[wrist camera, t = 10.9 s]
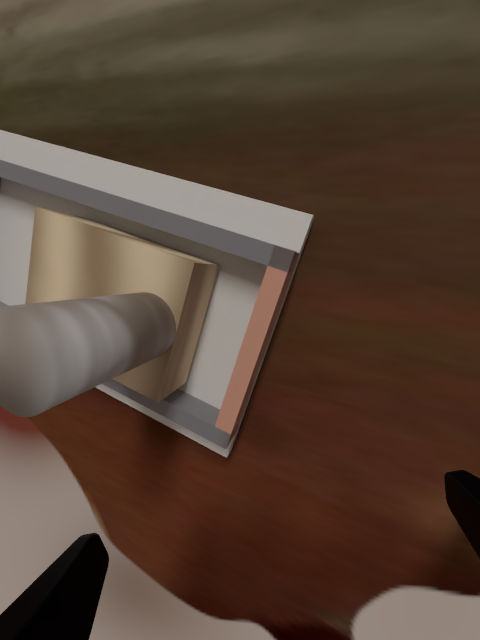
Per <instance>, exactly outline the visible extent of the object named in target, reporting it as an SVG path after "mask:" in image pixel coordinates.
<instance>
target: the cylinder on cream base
mask: <svg viewBox="0 0 480 640" xmlns="http://www.w3.org/2000/svg"><path fill="white" fill-rule="evenodd" d="M218 267H219V264H216V263H213V262H210V261H207V260H204V259H201V258H198V257H196V256H193V255H190V254H187V253H184V252H181V251H178V250H175V249H173V248H170V247H167V246H164V245H161V244H158V243H155V242H152V241H150V240H147V239H144V238H141V237H138V236H135V235H132V234H129V233H127V232H124V231H121V230H118V229H115V228H112V227H109V226H106V225H104V224H101V223H98V222H95V221H92V220H89V219H86V218H83V217H80V216H76V215H71V214H67V213H62V212H58V211H53V210H49V209H44V208H40V207H35V215H34V224H33V234H32V244H31V254H30V263H29V273H28V283H27V293H26V302H25V304H22V305H12V306H2V307H0V406H1V407H2V408H4V409H5V410H7V411H8V412H10V413H12V414H14V415H17V416H21V417H31V416H35V415H37V414H39V413H41V412H44V411H46V410H48V409H50V408H52V407H54V406H56V405H58V404H60V403H62V402H65V401H67V400H69V399H71V398H73V397H75V396H77V395H79V394H81V393H83V392H86V391H88V390H90V389H92V388H94V387H96V386H98V385H100V384H102V383H104V382H107V381H109V380H111V379H113V380H115V381H117V382H119V383H121V384H123V385H125V386H127V387H129V388H131V389H132V390H134V391H136V392H138V393H140V394H142V395H144V396H146V397H148V398H150V399H152V400H154V401H156V402H158V403H159V402H160V401H161V400H163V399H164V398H165V397H167V396H168V395H169V394H171V393H172V392H174V391H175V390H176V389H178V388H179V387H180V386H182V385H183V384H184V383H186V381H187V377H188V374H189V370H190V367H191V363H192V359H193V356H194V352H195V349H196V345H197V342H198V338H199V335H200V331H201V328H202V324H203V321H204V317H205V313H206V310H207V306H208V303H209V299H210V296H211V292H212V289H213V285H214V282H215V278H216V275H217V271H218Z"/></svg>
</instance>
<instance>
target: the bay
mask: <svg viewBox="0 0 480 640" xmlns="http://www.w3.org/2000/svg"><path fill="white" fill-rule="evenodd" d="M35 207H40V208H44V209H49V210H53V211H58V212H62V213H67V214H71V215H76V216H80V217H83V218H86V219H89V220H92V221H95V222H98V223H101V224H104V225H106V226H109V227H112V228H115V229H118V230H121V231H124V232H127V233H129V234H132V235H135V236H138V237H141V238H144V239H147V240H150V241H152V242H155V243H158V244H161V245H164V246H167V247H170V248H173V249H175V250H178V251H181V252H184V253H187V254H190V255H193V256H196V257H198V258H201V259H204V260H207V261H210V262H213V263H216V264H219V267H218V271H217V275H216V278H215V282H214V285H213V289H212V292H211V296H210V299H209V303H208V306H207V310H206V313H205V317H204V321H203V324H202V328H201V331H200V335H199V338H198V342H197V345H196V349H195V352H194V356H193V359H192V363H191V367H190V370H189V374H188V377H187V381H186V383H184V384H183V385H182V386H180V387H179V388H178V389H176V390H175V391H174V392H172V393H171V394H169V395H168V396H167V397H165V398H164V399H163V400H161V401H160V402H159V403H158V402H156V401H154V400H152V399H150V398H148V397H146V396H144V395H142V394H140V393H138V392H136V391H134V390H132V389H131V388H129V387H127V386H125V385H123V384H121V383H119V382H117V381H115V380H113V379H111V380H109V381H107V382H104V383H102V384H100V385H98V386H96V388H97V389H99V390H101V391H103V392H105V393H107V394H109V395H110V396H112V397H114V398H116V399H118V400H120V401H122V402H124V403H125V404H127V405H129V406H131V407H133V408H135V409H137V410H138V411H140V412H142V413H144V414H146V415H148V416H150V417H151V418H153V419H155V420H157V421H159V422H161V423H163V424H164V425H166V426H168V427H170V428H172V429H174V430H176V431H177V432H179V433H181V434H183V435H185V436H187V437H189V438H190V439H192V440H194V441H196V442H198V443H200V444H202V445H204V446H205V447H207V448H209V449H211V450H213V451H215V452H217V453H218V454H220V455H222V456H224V457H226V458H227V457H228V455H229V454H230V452H231V450H232V447H233V445H234V442H235V439H236V436H237V433H238V430H239V428H240V425H241V422H242V419H243V416H244V414H245V411H246V408H247V405H248V402H249V400H250V397H251V394H252V391H253V388H254V386H255V383H256V380H257V377H258V374H259V372H260V369H261V366H262V363H263V360H264V358H265V355H266V352H267V349H268V346H269V344H270V341H271V338H272V335H273V332H274V330H275V327H276V324H277V321H278V318H279V316H280V313H281V310H282V307H283V304H284V302H285V299H286V296H287V293H288V290H289V288H290V285H291V282H292V279H293V276H294V274H295V271H296V268H297V265H298V262H299V260H300V257H301V254H302V251H303V248H304V246H305V243H306V240H307V237H308V234H309V231H310V229H311V226H312V223H313V220H314V216H313V215H311V214H307V213H303V212H300V211H296V210H292V209H289V208H285V207H281V206H278V205H274V204H270V203H267V202H263V201H259V200H256V199H252V198H248V197H245V196H241V195H237V194H234V193H230V192H226V191H223V190H219V189H215V188H212V187H208V186H204V185H201V184H197V183H193V182H190V181H186V180H182V179H179V178H175V177H171V176H168V175H164V174H160V173H156V172H153V171H149V170H145V169H142V168H138V167H134V166H131V165H127V164H123V163H120V162H116V161H112V160H109V159H105V158H101V157H98V156H94V155H90V154H87V153H83V152H79V151H76V150H72V149H68V148H65V147H61V146H57V145H54V144H50V143H46V142H43V141H39V140H35V139H32V138H28V137H24V136H21V135H17V134H13V133H9V132H6V131H2V130H0V307H2V306H12V305H22V304H25V302H26V293H27V283H28V273H29V263H30V254H31V244H32V234H33V224H34V215H35Z"/></svg>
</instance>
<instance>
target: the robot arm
mask: <svg viewBox="0 0 480 640" xmlns="http://www.w3.org/2000/svg"><path fill="white" fill-rule="evenodd" d="M444 479H445V491H446V500H447V504H448V506H449V508H450V510H451V512H452V514H453V515H454V517H455V519H456V520H457V522H458V524H459V525H460V527H461V529H462V530H463V532H464V534H465V535H466V537H467V538H468V540H469V542H470V543H471V545H472V547H473V548H474V550H475V552H476V553H477V555H478V557H479V558H480V478H478V477H476V476H474V475H472V474H471V473H469V472H467V471H464V470H458V471H452V472H447V473H446V474H445V477H444ZM108 562H109V556H108V553H107V550H106V548H105V547H104V544H103V542H102V540H101V538H100V536H99V535H98V534H96V533H92V534H86V535H83V536H80V537H79V538H78V539H77V540H76V541H75V542H74V543H73V544H72V545H71V546H70V547H69V548H68V549H67V550H66V551H65V552H64V553H63V554H62V555H61V556H60V557H59V558H57V560H56V561H55V562H53V563H52V564H51V565H50V566H49V567H48V568H47V569H46V570H45V571H44V572H43V573H42V574H41V575H40V576H39V577H38V578H37V579H36V580H35V581H34V582H33V583H32V584H31V585H30V586H29V587H28V588H27V589H26V590H25V591H24V592H23V593H22V594H21V595H20V596H19V597H18V598H17V599H16V600H15V601H14V602H13V603H12V604H11V605H10V606H9V607H8V608H7V609H6V610H5V611H4V612H3V613H2V614H1V615H0V640H89V636H90V633H91V630H92V625H93V622H94V618H95V614H96V610H97V606H98V603H99V599H100V595H101V591H102V587H103V583H104V580H105V576H106V572H107V568H108Z"/></svg>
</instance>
